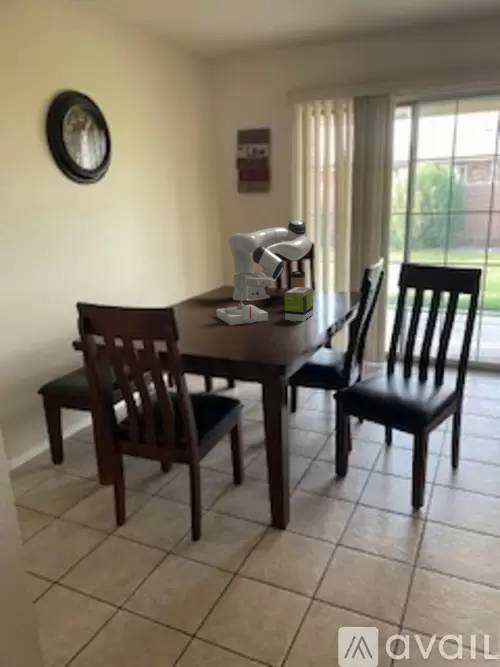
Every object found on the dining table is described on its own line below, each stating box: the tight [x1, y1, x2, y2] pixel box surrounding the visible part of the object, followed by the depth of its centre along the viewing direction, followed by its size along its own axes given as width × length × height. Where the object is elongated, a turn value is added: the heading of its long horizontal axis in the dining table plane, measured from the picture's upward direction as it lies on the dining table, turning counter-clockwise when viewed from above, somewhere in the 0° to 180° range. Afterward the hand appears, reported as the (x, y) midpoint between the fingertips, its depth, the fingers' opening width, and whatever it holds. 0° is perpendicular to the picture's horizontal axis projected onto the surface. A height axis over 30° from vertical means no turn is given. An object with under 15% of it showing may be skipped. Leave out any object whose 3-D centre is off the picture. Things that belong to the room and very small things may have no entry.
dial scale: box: [216, 304, 269, 326], centre depth 252 cm, size 20×22×9 cm
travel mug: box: [290, 270, 306, 289], centre depth 271 cm, size 8×8×20 cm
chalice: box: [233, 272, 247, 310], centre depth 250 cm, size 7×7×18 cm
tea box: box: [284, 286, 314, 322], centre depth 250 cm, size 15×10×15 cm
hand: (248, 283), depth 255 cm, fingers open, 8 cm apart
